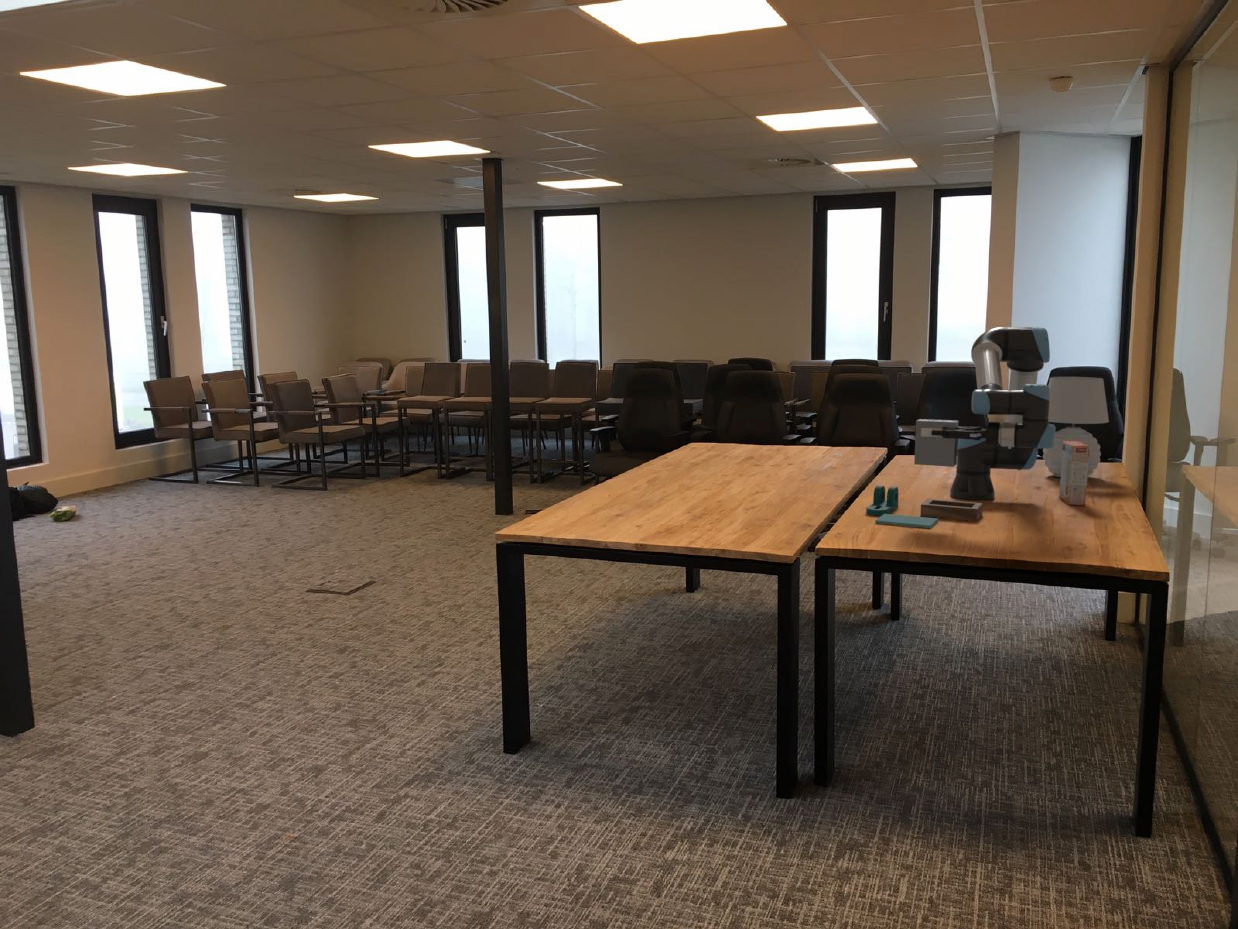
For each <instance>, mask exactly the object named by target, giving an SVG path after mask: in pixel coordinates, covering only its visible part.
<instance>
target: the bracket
mask: <svg viewBox="0 0 1238 929" xmlns="http://www.w3.org/2000/svg"><path fill="white" fill-rule="evenodd" d="M886 493H887V494H886ZM872 498H873V500H872V502H873V503H872V504H870V505H868V506H867V507H866V508H865V509H866V512H865V514H866V515H867V514H868V515H867V516H870V515H872V516H871V517H881V516H882V515H883V514H888V513H890V512H891V513H892V512H894V511H895V510H897V509H898V508H899V487H898V486H889V487H888V489H887V492H886V487H885V485H875V487H874V490H873V496H872ZM896 508H897V509H896ZM893 510H894V511H893ZM891 513H890V514H891Z"/></svg>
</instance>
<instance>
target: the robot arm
mask: <svg viewBox="0 0 1238 929" xmlns="http://www.w3.org/2000/svg"><path fill="white" fill-rule="evenodd" d="M1048 332H1049V331H1048V330H1047V329H1046V328H1045V327H1035V326H1023V327H1022V326H1018V327H1017V326H1013V327H1012V326H1011V327H1009V326H1008V327H1007V326H1006V327H1004V326H997V327H992V328H990V329H988V330H986V331H984V332H983V333H982V334H980V335H979V336H978V337H977V338H976V339H975V341H973V345H972V347H971V351H970V357H971V361H972V362H973V364H974V365H975V376H976V387H977V389H974V390H973V391H972V393H971V412H972V413H973V414H976V415H983V416H987V415H988V416H989V415H991V416H993V415H995V416H996V415H997V416H998V415H1000V416H1001V415H1003V416H1005V422H1004V421H1003V422H1001V423H1000V421H988V422H987V424H986V428H983V427H982V426H958V430H957V429H955V430H954V429H945V427H943V428H921V436H925V437H943V438H954V439H958V444H957V464H956V468H955V470H956V472H955V477H954V480H953V482H952V485H951V487H950V490H949V495H950V497H952V498H956V499H961V500H962V499H963V500H973V501H984V500H985V501H987V500H993V499H994V498H995V493H996V492H995V489H994V485H993V481H992V477H991V470H992V469H993V470H997V469H998V470H1018V471H1021V470H1022V471H1023V470H1031V469H1032V468H1034V466H1035V464H1036V461H1037V459H1038V455H1039V454H1038V453H1039V449H1042V450H1044V449H1050V448H1052V447H1053V446H1054V442H1055V432H1056V425H1055V424H1051V423H1050V422H1049V421H1048V416H1049V403H1050V388H1049V386H1048V385H1047V384H1041V383H1040V384H1039V383H1037V381H1038V374H1039V372H1040V371H1041V370H1043V369H1044V364H1046V363H1049V362H1050V358H1051V356H1050V355H1051V354H1050V352H1051V351H1050V340H1049V333H1048ZM1001 362H1002V363H1006V367H1007V368H1008V369H1009V370H1010V374H1009V375H1010V377H1009V383H1008V384H1009V385H1008V389H1004V386H1003V385H1004V384H1003V379H1002V378H1003V376H1002V368H1001Z"/></svg>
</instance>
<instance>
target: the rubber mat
mask: <svg viewBox="0 0 1238 929" xmlns="http://www.w3.org/2000/svg"><path fill="white" fill-rule="evenodd" d="M938 521H939V518H932V517H921V516H911V515H904V514H903V515H901V514H891V513H890V514H883V515H882V516H878V518H877V519H875V520H874V522H875V523H878V524H877V525H886V524H895V525H894V526H896V525H902V526H901V527H906V526H910V527H909V528H917V527H925V528H924V529H927V528H931V527H932V528H933V527H935V525H936V524H937V523H939V522H938ZM875 523H874V524H875ZM934 524H935V525H934ZM932 528H931V529H932Z"/></svg>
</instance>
